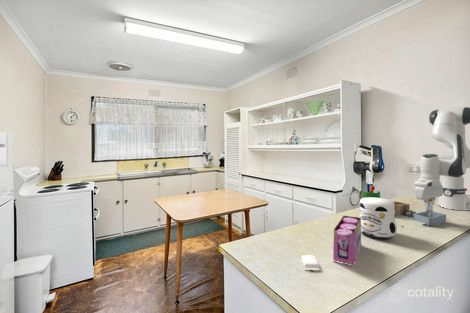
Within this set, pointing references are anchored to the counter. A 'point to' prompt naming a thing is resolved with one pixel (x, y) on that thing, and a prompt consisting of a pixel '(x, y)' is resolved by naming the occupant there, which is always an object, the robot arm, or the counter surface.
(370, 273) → the counter surface
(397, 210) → the bracket
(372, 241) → the counter surface
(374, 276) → the counter surface
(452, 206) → the robot arm
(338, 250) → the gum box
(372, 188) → the motor
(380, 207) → the milk container
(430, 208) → the pin
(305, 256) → the soap
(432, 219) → the tray
